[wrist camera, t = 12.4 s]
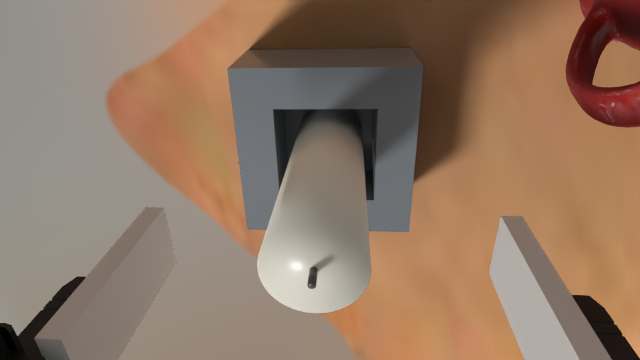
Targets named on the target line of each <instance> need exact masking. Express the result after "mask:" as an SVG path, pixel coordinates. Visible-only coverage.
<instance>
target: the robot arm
mask: <svg viewBox="0 0 640 360" xmlns="http://www.w3.org/2000/svg"><path fill="white" fill-rule="evenodd" d="M175 264H176V257H175V253H174V249H173V244H172V240H171V236H170V231H169V227H168V222H167V218H166V214H165V209H164V208H156V207H154V208H153V207H146V208H145V209H144V210H143V211H142V212H141V213H140V215H139V216H138V217H137V218H136V219H135V221H134V222H133V223H132V224H131V225H130V226H129V228H128V229H127V230H126V231H125V232H124V234H123V235H122V236H121V237H120V238H119V239H118V240H117V242H116V243H115V244H114V245H113V246H112V247H111V249H110V250H109V251H108V252H107V253H106V255H105V256H104V257H103V258H102V259H101V260H100V262H99V263H98V264H97V265H96V266H95V268H94V269H93V270H92V271H91V272H90V274H88V276H87V277H76V278H75V279H73V280H72V281H70V282H69V283H67V284H66V285H64V286H63V287H62V288H61V289H60V290H59V291H58V292H57V293H56V295H55V296H54V297H53V298H52V301H49V302H48V303H47V304H46V306H45V307H44V309H43V310H42V311H40V312H39V313H38V314H37V316H36V317H35V318H34V319H33V320H32V321H31V323H29V324H28V326H27V327H26V328H25V329H24V330H23V331H22V332H21V333H20V334H19V336H18V337H17V335H16V333H15V331H14V329H13V327H12V325H9V324H6V323H0V360H118V359H119V357H120V356H121V354H122V352H123V351H124V349H125V347H126V346H127V344H128V342H129V341H130V339H131V337H132V336H133V334H134V332H135V331H136V329H137V327H138V326H139V324H140V322H141V321H142V319H143V317H144V316H145V314H146V312H147V311H148V309H149V307H150V306H151V304H152V302H153V301H154V299H155V297H156V295H157V294H158V292H159V291H160V289H161V287H162V286H163V284H164V282H165V280H166V279H167V277H168V276H169V274H170V272H171V271H172V269H173V267H174V266H175ZM489 274H490V277H491V279H492V282H493V284H494V287H495V289H496V292H497V294H498V296H499V299H500V301H501V304H502V306H503V309H504V311H505V314H506V316H507V318H508V321H509V323H510V326H511V328H512V331H513V333H514V335H515V338H516V340H517V343H518V345H519V348H520V350H521V353H522V355H523V357H524V360H640V358H639V357H638V356H637V354H636V353H635V351H634V350H633V348H632V347H631V346H630V344H629V343H628V341H627V340H626V338H625V337H624V336H622V333H621V331H620V330H619V328H618V327H617V325H614V321H613V320H612V318H611V317H610V315H609V314H608V313H607V311H606V310H605V308H604V307H602V306H601V305H600V304H599V303H597V302H596V301H595V300H594V299H592V298H591V297H590V296H585V295H571V294H570V292H569V290H568V289H567V287H566V286H565V284H564V282H563V281H562V279H561V278H560V276H559V274H558V273H557V271H556V270H555V268H554V267H553V265H552V263H551V262H550V260H549V259H548V257H547V255H546V254H545V252H544V251H543V249H542V247H541V246H540V244H539V243H538V241H537V239H536V238H535V236H534V235H533V233H532V231H531V230H530V228H529V227H528V225H527V223H526V222H525V220H524V219H523V217H522V216H501V219H500V223H499V228H498V233H497V238H496V242H495V247H494V252H493V257H492V261H491V266H490V271H489Z"/></svg>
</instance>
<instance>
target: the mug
mask: <svg viewBox="0 0 640 360" xmlns="http://www.w3.org/2000/svg"><path fill="white" fill-rule="evenodd" d="M580 5H581V9H582V13H583V15H584V17H585V20H584V22H583V23H582V25H581V26H580V28H579V30H578V32H577V35H576V37H575V39H574V41H573V44H572V46H571V49H570V52H569V55H568V59H567V64H566V79H567V83H568V86H569V88H570V91H571V93H572V94H573V96H574V98H575V99H576V101H577V102H578V104H579V105H580V107H581V108H582V109H583V110H584V111H585V112H586V113H587V114H588V115H589V116H591V117H592V118H594V119H595V120H598V121H600V122H602V123H604V124H607V125H611V126H617V127H639V126H640V81H639V82H637V83H635V84H631V85H626V86H622V87H611V88H608V87H597V86H594V85H592V81H593V77H594V73H595V69H596V67H597V63H598V60H599V58H600V55H601V53H602V51H603V50H604V48H605V47H606V45H607V44H608V43H609V42H610V41H615V42H618V43H621V44H624V45H627V46H629V47H632V48H634V49H637V50H639V51H640V0H580Z"/></svg>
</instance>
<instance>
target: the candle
mask: <svg viewBox="0 0 640 360" xmlns="http://www.w3.org/2000/svg"><path fill="white" fill-rule="evenodd" d="M257 270H258V274H259V278H260V280H261V282H262V284H263V286H264V287H265V289H266V290H267V291H268V292H269V293H270V295H272V297H274V298H275V299H276V300H277V301H279V302H280V303H282V304H284V305H286V306H288V307H290V308H293V309H295V310H299V311H303V312H310V313H326V312H332V311H336V310H339V309H342V308H344V307H346V306H348V305H350V304H351V303H353V302H354V301H356V300H357V299H358V298H359V297H360V296H361V295H362V294H363V292H364V291H365V289H366V287H367V285H368V283H369V280H370V275H371V263H370V247H369V232H368V217H367V202H366V186H365V171H364V156H363V140H362V127H361V123H360V120H359V118H358V116H357V115H356V114H355V112H354V111H353V110H352V109H310V110H309V111H308V112H307V113H306V114H305V116H304V117H303V119H302V122H301V125H300V128H299V131H298V134H297V137H296V141H295V144H294V147H293V150H292V153H291V156H290V159H289V162H288V165H287V168H286V171H285V175H284V178H283V181H282V184H281V187H280V190H279V193H278V196H277V199H276V202H275V205H274V209H273V212H272V215H271V218H270V221H269V224H268V227H267V230H266V233H265V236H264V240H263V243H262V246H261V249H260V252H259V255H258V260H257Z"/></svg>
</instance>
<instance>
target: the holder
mask: <svg viewBox="0 0 640 360" xmlns="http://www.w3.org/2000/svg"><path fill="white" fill-rule="evenodd" d="M423 70H424V66H423V65H422V63H421V62H420V60H419V59H418V57H417V56H416V55H415V53H414V52H413V50H412V49H411V48H353V49H268V50H247V51H246V52H245V53H244V54H243V55H242V56H241V57H239V58H238V59H237V60H236V61H235V62H234V63H233V64H232V65H231V66H230V67H229V68H228V76H229V84H230V93H231V101H232V109H233V117H234V125H235V133H236V141H237V149H238V157H239V165H240V173H241V181H242V190H243V198H244V206H245V214H246V222H247V229H263V230H267V227H268V224H269V221H270V218H271V215H272V212H273V209H274V205H275V202H276V199H277V196H278V193H279V190H280V187H281V184H282V181H283V178H284V175H285V171H286V168H287V165H288V162H289V159H290V156H291V153H292V150H293V147H294V144H295V141H296V137H297V134H298V131H299V128H300V125H301V122H302V119H303V117H304V116H305V114H306V113H307V112H308V111H309V110H310V109H352V110H353V111H354V112H355V114H356V115H357V116H358V118H359V120H360V123H361V127H362V140H363V156H364V171H365V186H366V202H367V217H368V231H389V232H409V224H410V213H411V202H412V191H413V180H414V169H415V158H416V147H417V136H418V125H419V114H420V103H421V92H422V81H423Z"/></svg>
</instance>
